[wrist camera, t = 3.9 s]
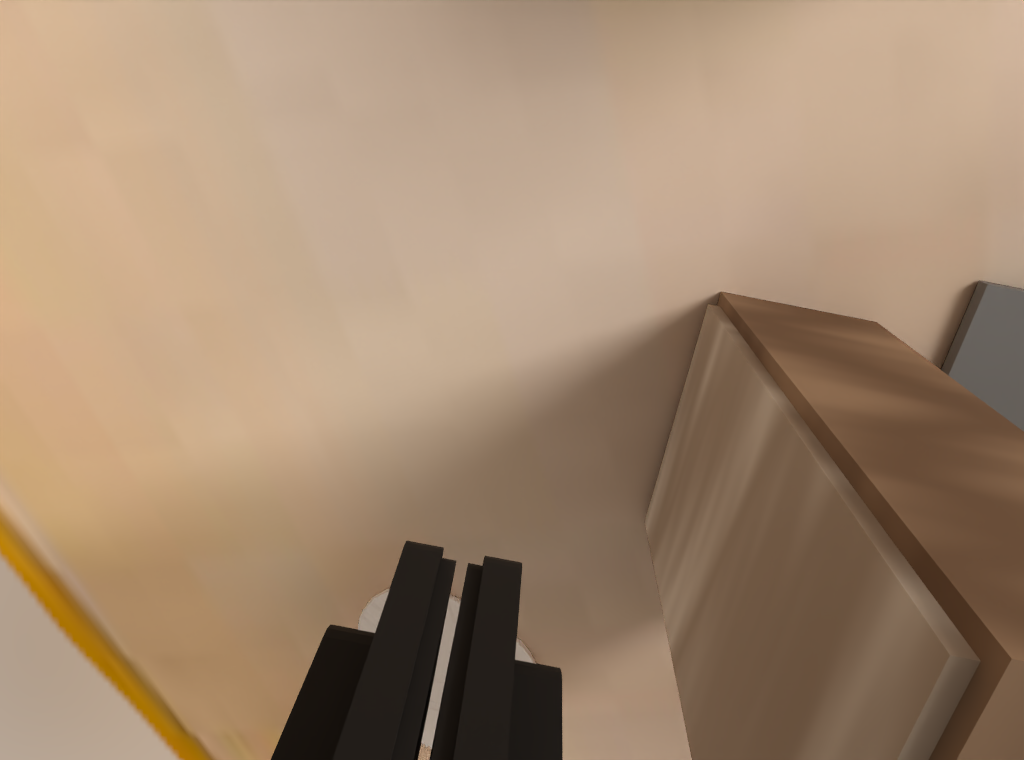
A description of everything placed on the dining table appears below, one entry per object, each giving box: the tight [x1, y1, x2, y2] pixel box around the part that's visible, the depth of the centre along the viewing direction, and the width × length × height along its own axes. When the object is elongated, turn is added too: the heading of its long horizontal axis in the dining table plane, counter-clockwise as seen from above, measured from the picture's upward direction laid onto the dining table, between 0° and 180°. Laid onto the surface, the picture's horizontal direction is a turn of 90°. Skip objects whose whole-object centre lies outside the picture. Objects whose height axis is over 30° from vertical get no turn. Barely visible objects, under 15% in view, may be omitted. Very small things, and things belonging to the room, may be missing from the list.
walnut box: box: [645, 292, 1024, 760], centre depth 14 cm, size 4×7×13 cm, turn 169°
